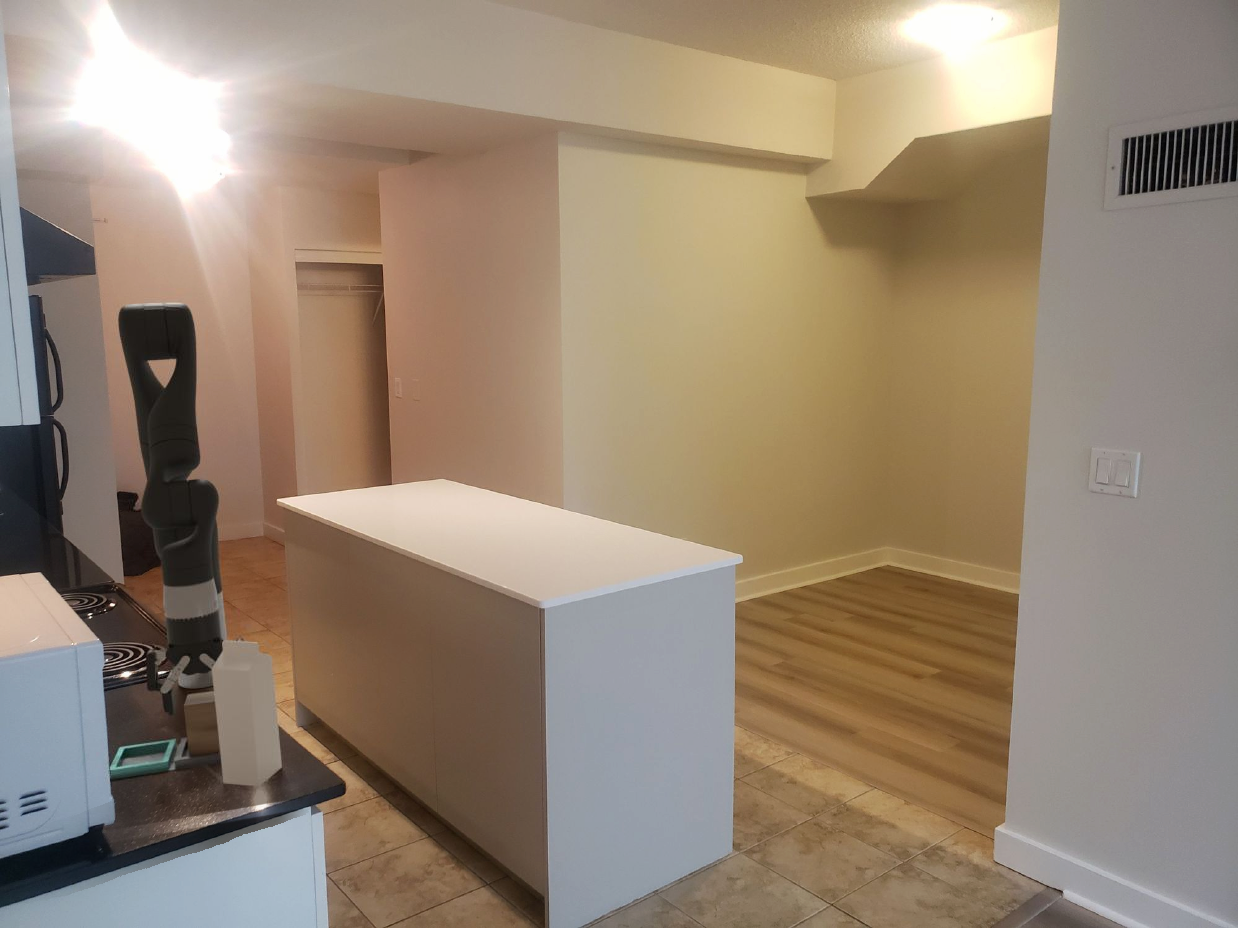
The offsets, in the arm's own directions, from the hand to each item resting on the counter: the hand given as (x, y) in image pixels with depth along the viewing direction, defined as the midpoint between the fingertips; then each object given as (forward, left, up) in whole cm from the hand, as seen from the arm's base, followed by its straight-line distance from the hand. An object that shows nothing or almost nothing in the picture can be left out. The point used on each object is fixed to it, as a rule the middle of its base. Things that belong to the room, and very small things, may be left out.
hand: (202, 709), depth 145 cm
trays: (0, -5, -8) cm, 10 cm away
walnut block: (0, 0, -7) cm, 7 cm away
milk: (+10, +7, -9) cm, 15 cm away
